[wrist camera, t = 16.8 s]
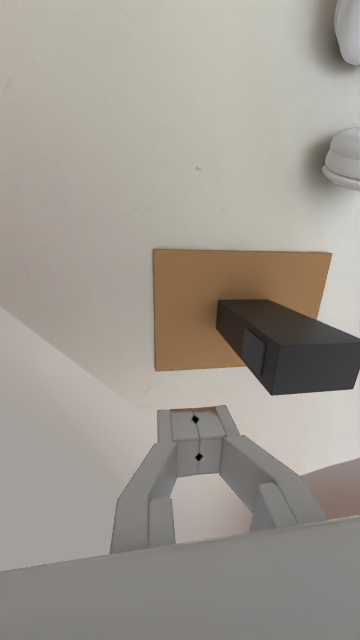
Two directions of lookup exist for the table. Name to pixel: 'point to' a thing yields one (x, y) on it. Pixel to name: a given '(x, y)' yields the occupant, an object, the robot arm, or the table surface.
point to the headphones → (355, 143)
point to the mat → (224, 298)
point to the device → (288, 347)
